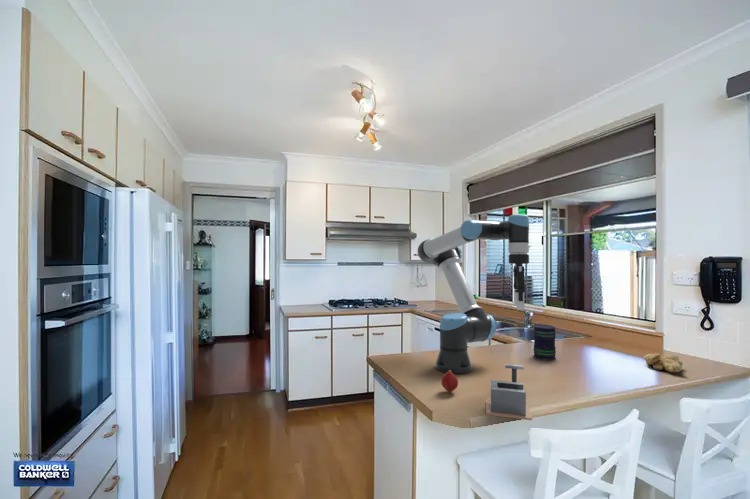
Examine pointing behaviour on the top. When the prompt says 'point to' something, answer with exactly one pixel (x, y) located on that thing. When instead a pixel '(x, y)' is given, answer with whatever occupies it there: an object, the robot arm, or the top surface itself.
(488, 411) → the tile
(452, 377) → the onion
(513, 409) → the c link
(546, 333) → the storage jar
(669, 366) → the ginger root
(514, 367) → the post stand
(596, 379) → the top surface
